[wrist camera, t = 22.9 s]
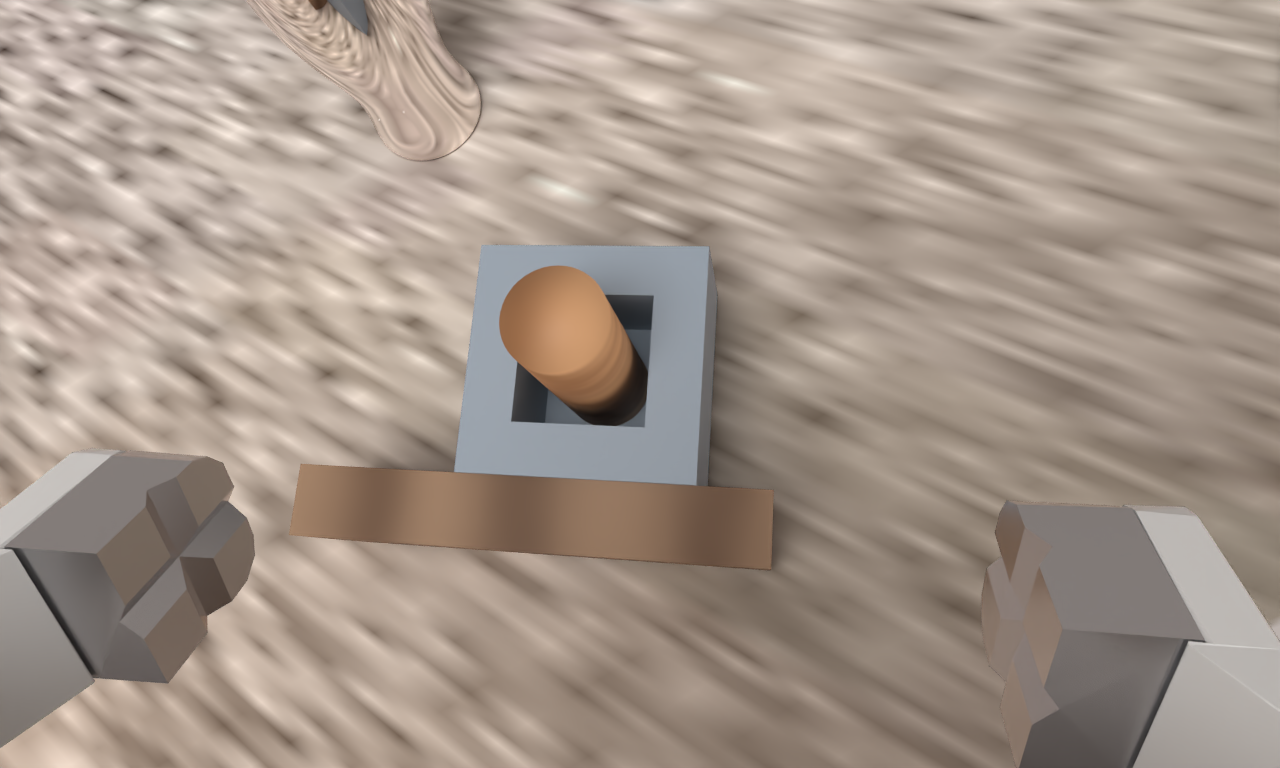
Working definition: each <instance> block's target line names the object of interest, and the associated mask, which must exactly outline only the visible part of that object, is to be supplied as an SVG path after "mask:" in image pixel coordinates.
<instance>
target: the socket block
mask: <svg viewBox="0 0 1280 768" xmlns="http://www.w3.org/2000/svg"><path fill="white" fill-rule="evenodd" d="M557 265H559V266H568V267H573V268H576V269H579V270H581V271H583V272H585V273H586V274H588V275H589V276H590V277H591V278H593V279H594V280H595V281H596V283H597V284H598V285H599V286H600V288H601V289H602V291H603V293H604V295H605V296H606V298H607V300H608V302H609V303H610V305H611V307H612V309H613V310H614V312H615V314H616V316H617V317H618V319H619V321H620V323H621V324H622V326H623V328H624V330H625V331H626V333H627V335H628V337H629V338H630V340H631V342H632V344H633V345H634V347H635V349H636V351H637V352H638V354H639V356H640V358H641V359H642V361H643V363H644V365H645V367H646V369H647V371H648V386H647V400H646V402H645V404H644V406H643V408H642V409H641V410H640V412H639V413H638V414H637V415H636V416H635V417H633V418H632V419H631V420H629V421H627V422H626V423H623V424H621V425H618V426H601V425H592V424H589V423H588V422H586V421H584V420H583V419H581V418H580V417H579V416H578V415H577V414H576V413H575V412H573V411H572V410H571V409H570V408H569V407H568V406H567V405H566V404H564V403H563V402H562V401H561V400H560V399H559V398H558V397H557V396H555V395H554V394H553V393H552V392H551V391H550V390H549V389H548V388H546V387H545V386H544V385H543V384H542V383H541V382H540V381H539V380H537V379H536V378H535V377H534V376H533V375H532V374H531V373H530V372H528V371H527V370H526V369H525V368H524V367H523V366H522V365H521V364H519V363H518V362H517V361H516V360H515V359H514V358H513V357H512V356H511V355H510V354H509V352H508V351H507V349H506V348H505V346H504V344H503V341H502V339H501V335H500V329H499V317H500V311H501V308H502V304H503V302H504V300H505V298H506V296H507V294H508V293H509V291H510V290H511V289H512V287H513V286H514V285H515V284H516V283H517V282H518V281H519V280H520V279H522V278H523V277H524V276H526V275H527V274H529V273H531V272H533V271H535V270H537V269H540V268H543V267H548V266H557ZM717 296H718V294H717V288H716V283H715V277H714V271H713V265H712V259H711V254H710V248H709V246H561V245H482V246H481V254H480V263H479V271H478V279H477V287H476V295H475V304H474V312H473V320H472V328H471V336H470V344H469V353H468V361H467V369H466V377H465V385H464V394H463V402H462V410H461V418H460V426H459V435H458V443H457V451H456V459H455V467H454V472H456V473H475V474H493V475H511V476H529V477H547V478H566V479H584V480H602V481H620V482H638V483H657V484H675V485H693V486H708V470H709V451H710V432H711V412H712V393H713V374H714V354H715V335H716V315H717Z"/></svg>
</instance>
